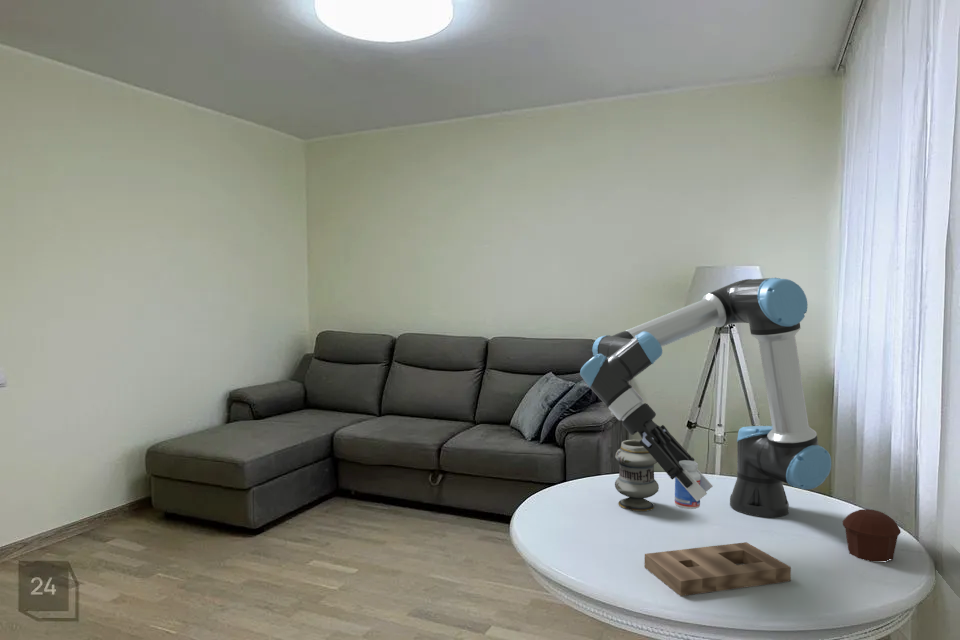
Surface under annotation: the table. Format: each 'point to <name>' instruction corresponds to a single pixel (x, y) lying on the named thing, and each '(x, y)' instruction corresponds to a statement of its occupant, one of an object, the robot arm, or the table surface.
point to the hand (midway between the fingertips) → (705, 493)
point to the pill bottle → (681, 494)
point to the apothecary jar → (635, 476)
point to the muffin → (871, 535)
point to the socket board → (716, 568)
